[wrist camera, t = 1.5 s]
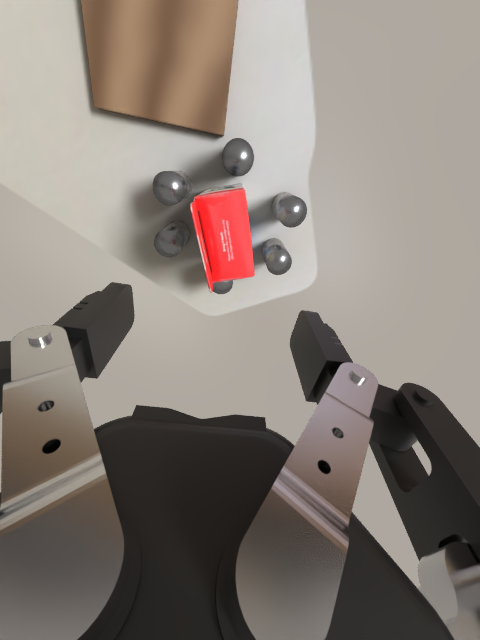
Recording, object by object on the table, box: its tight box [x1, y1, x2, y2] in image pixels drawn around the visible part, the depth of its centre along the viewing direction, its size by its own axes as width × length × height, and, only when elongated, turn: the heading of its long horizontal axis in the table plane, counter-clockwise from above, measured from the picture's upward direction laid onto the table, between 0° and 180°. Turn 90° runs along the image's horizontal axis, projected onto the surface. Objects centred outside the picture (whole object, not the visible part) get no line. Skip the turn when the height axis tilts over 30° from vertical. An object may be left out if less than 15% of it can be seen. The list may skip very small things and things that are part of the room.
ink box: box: [190, 184, 255, 293], centre depth 26 cm, size 8×5×15 cm, turn 9°
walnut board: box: [81, 0, 238, 136], centre depth 23 cm, size 14×14×1 cm
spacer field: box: [153, 138, 307, 294], centre depth 30 cm, size 17×17×6 cm
